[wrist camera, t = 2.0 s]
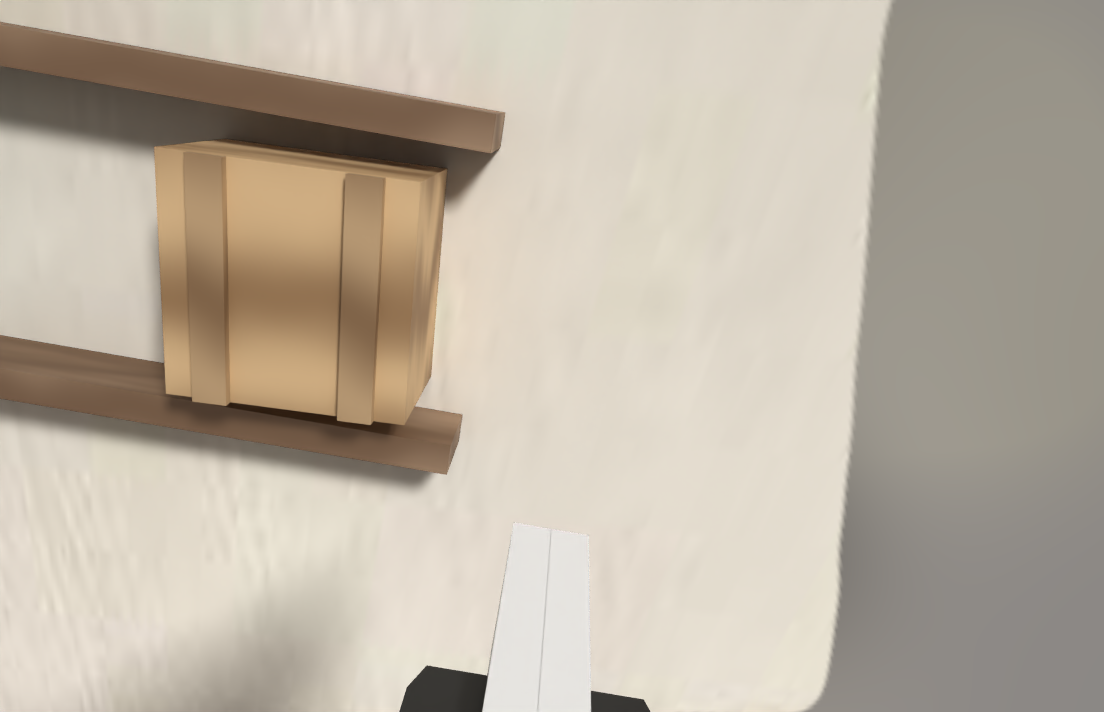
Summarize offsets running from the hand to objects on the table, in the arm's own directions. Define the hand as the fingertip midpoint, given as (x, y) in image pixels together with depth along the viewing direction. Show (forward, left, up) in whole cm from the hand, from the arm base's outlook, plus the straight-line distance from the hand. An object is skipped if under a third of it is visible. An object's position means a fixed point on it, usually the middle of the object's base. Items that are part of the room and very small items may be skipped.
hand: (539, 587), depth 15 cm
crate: (0, -11, -22) cm, 24 cm away
